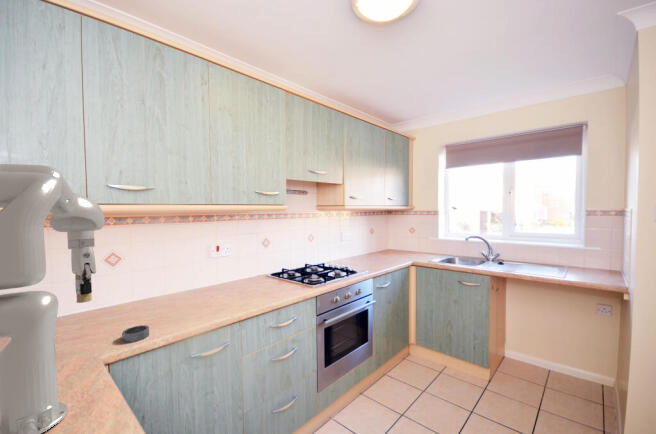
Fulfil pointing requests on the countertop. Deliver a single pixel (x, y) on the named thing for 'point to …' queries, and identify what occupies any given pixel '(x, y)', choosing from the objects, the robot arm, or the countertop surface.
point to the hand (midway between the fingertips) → (83, 292)
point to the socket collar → (135, 333)
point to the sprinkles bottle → (79, 297)
